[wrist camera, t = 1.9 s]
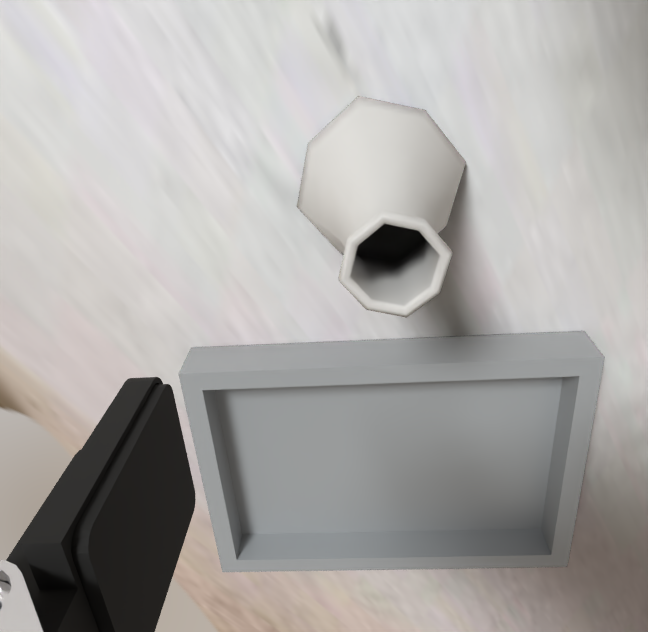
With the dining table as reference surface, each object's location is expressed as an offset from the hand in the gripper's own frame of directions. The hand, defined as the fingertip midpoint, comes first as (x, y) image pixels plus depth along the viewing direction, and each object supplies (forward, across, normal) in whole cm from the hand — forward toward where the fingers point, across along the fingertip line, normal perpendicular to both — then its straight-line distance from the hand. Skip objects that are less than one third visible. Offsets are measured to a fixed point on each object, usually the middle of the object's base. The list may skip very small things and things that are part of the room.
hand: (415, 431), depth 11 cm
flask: (+17, 0, -1) cm, 17 cm away
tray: (+17, 0, +14) cm, 22 cm away
